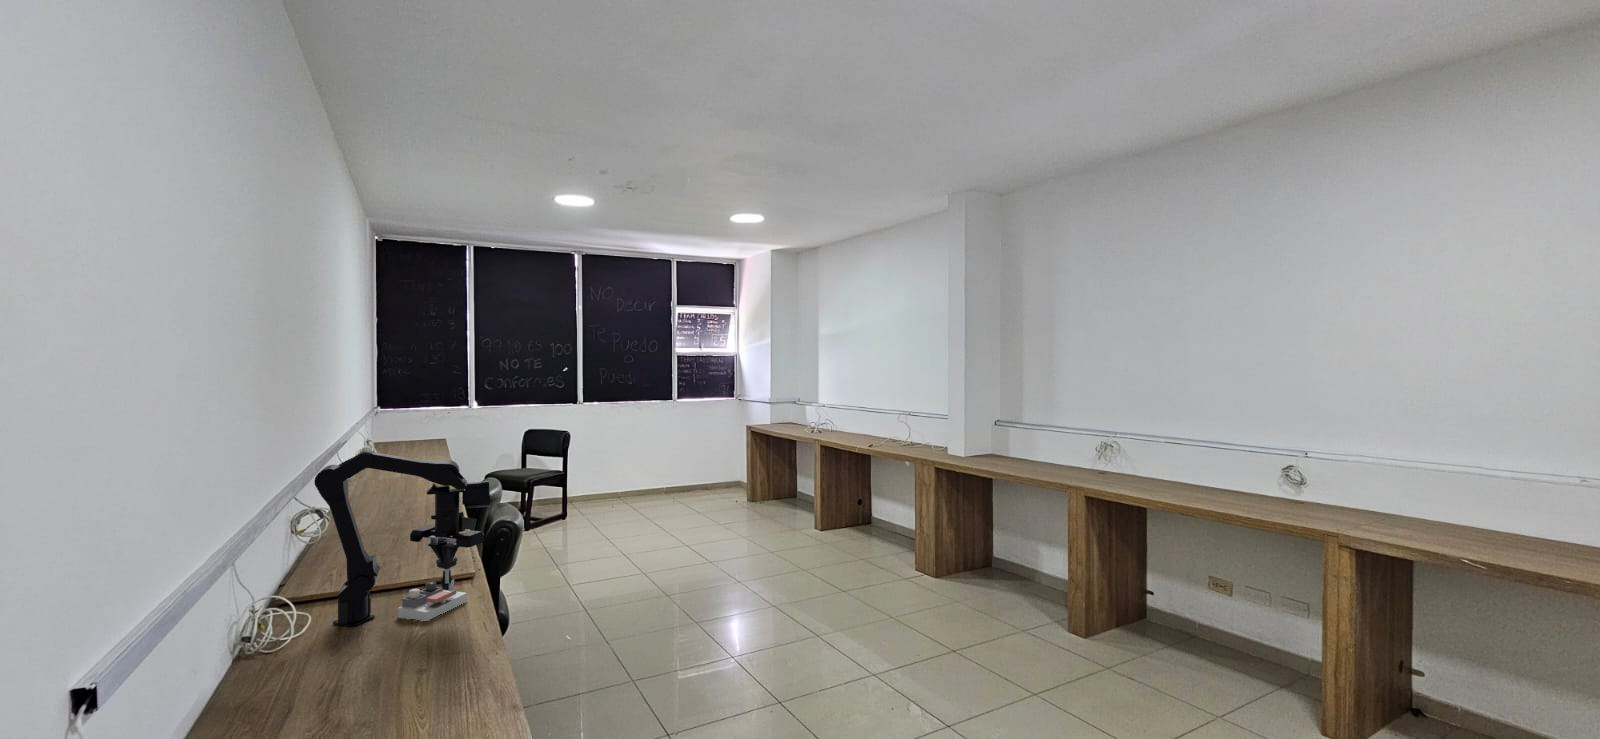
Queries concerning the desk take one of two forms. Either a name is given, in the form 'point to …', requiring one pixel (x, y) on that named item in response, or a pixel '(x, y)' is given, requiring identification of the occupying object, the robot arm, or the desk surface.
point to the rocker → (439, 596)
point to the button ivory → (414, 594)
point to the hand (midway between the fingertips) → (447, 568)
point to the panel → (430, 604)
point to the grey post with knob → (446, 574)
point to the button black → (430, 586)
